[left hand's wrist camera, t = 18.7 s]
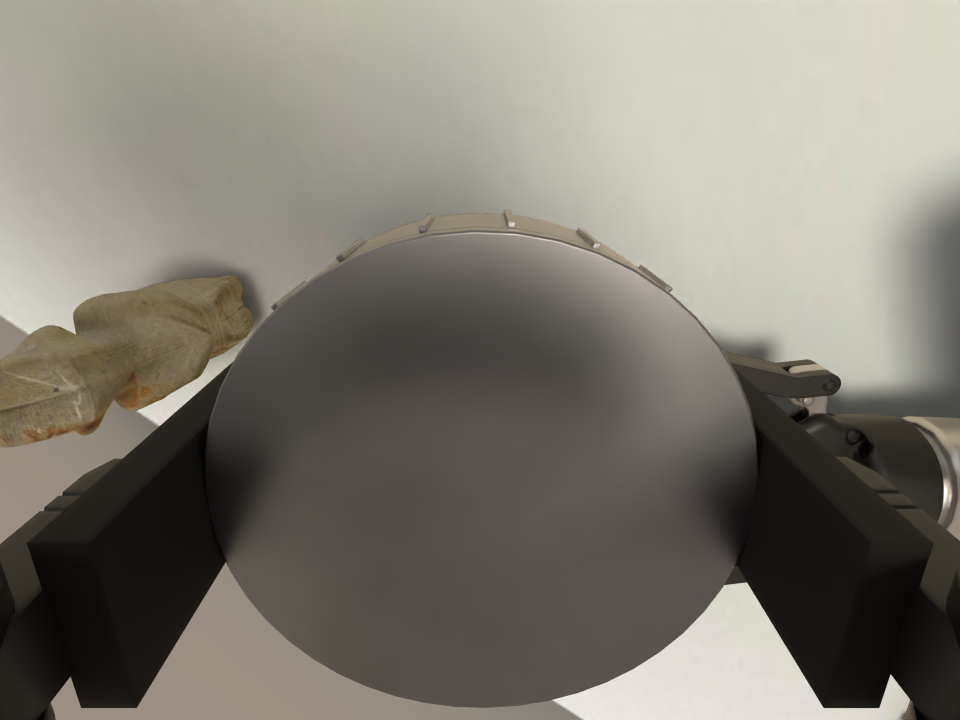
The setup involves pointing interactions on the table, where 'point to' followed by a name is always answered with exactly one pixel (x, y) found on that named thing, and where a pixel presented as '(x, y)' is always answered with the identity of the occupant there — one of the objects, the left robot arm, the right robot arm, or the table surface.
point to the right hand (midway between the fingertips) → (511, 467)
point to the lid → (481, 463)
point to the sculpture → (117, 356)
